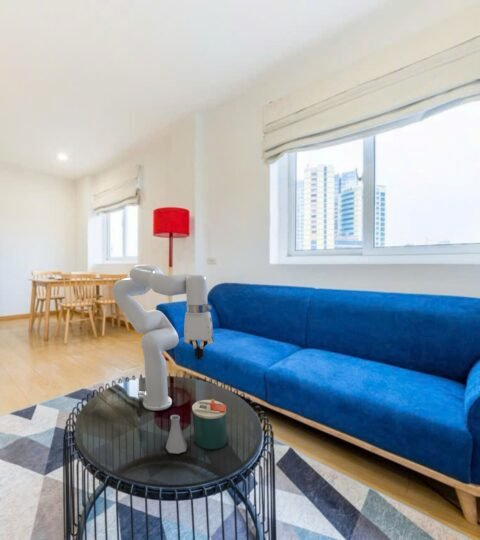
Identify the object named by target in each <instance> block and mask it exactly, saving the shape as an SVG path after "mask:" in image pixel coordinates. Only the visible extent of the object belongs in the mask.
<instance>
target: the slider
mask: <svg viewBox="0 0 480 540" xmlns="http://www.w3.org/2000/svg"><path fill="white" fill-rule="evenodd" d="M211 400H212V401H211V404H210V410H213V411H220V412H224V413H225V411H226V412H227V405H226V404H224V405H219V404H215V402H214V400H215V398H211Z"/></svg>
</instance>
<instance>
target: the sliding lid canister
mask: <svg viewBox="0 0 480 540" xmlns="http://www.w3.org/2000/svg"><path fill="white" fill-rule="evenodd" d="M211 401H212V399H202V400H198V401H196V402H194V403H193V404H192V406H191V410H192V421H193V422H192V423H193V424H192V427H193V441H194V442H195V444H196V445H197V446H199V447H201V448H203V449H205V450H217V449H221V448H223V447H224V446H226V444H227V442H228V435H227V434H228V433H227V410H226V411H225V413H224V412H220V411H213V410H210V404H211ZM214 402H215V404H219V405H225V404H224V403H222V402H220V401H218V400H215V399H214Z"/></svg>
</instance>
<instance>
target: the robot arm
mask: <svg viewBox="0 0 480 540" xmlns="http://www.w3.org/2000/svg"><path fill="white" fill-rule="evenodd" d="M207 283H208V281H207V277H206V276H205V275H204V274H188V273H187V274H186V273H185V274H172V275H167V274H166V275H165V273H164V271H163V270H162V269H161V268H160V267H159V266H158V265H157V264H153V263H151V264H137V265H134V266H133V267H132V268H131V269H130V271H129V278H123V279H120V280H117V281H116V282H115V283H113V285H112V296H113V300H114V301H115V303H116V305H117V306H118V307H119V308H120V309H121V311H122V312H123V313H124V314H125V316H126V318H127V320H128V321H129V323H130V325H132V328H133V329H134V330H135V332H136V333H138V334H141V335H142V334H144V335H142V337H141V340H140V345H141V349H142V355H143V361H144V381H145V391H140V390H139V391H138V392H137V398H138V399H143V400H142V406H143V407H144V408H145V409H147V410H149V411H156V412H158V411H165V410H167V409H169V408H170V407H171V406H172V404H173V399H172V398H171V397H170V396H169V387H168V366H167V364H168V363H167V360H166V358H165V356H164V355H163V352H165V351H168V350H172V349H174V348H175V347H177V346H178V344H179V340H180V339H179V334H178V332H177V330H176V329H175V327H174V326H173V325H172V323H171V322H170V320H169V319H168V317H167V316H166V315H165V314H164V313H163V311H160V310H158V309H151V310H145V309H144V307H143V305H142V303H140V302H139V301H138V300H137V299H135V298H133V297H135V296H137V297H138V296H143V295H145V294H147V293H148V292H149V291H150V290H152V291H153V292H154V293H156V294H159V295H163V296H168V297H171V296H172V297H173V296H178V295H186V312H185V313H184V314H185V315H184V323H183V337H184V340H183V341H184V343H187V344H190V345H191V346H192V347H193V349H194V357H195V358H196V359H195V360H197V361H198V360H200V361H201V360H202V359H203V358H204V357H205V350H204V348H205V347H206V346H208V345H211V344H214V342H215V341H214V328H213V319H212V313H211V312H210V310H212V309H213V307H212V305H209V303H208V284H207ZM198 341H199V342H198Z"/></svg>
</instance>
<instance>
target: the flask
mask: <svg viewBox="0 0 480 540" xmlns="http://www.w3.org/2000/svg"><path fill="white" fill-rule="evenodd" d="M180 419H181V416H180V415H179V414H172V415H170V417H169V420H170V421H171V422H170V431H169V434H168V437H167V441H166V444H165V449H166V451H167V452H168V453H169V454H176V455H177V454H181V453H184V452H187V449H188V443H187V441H186V438H185V436H184V434H183V431H182V427H181V424H180Z"/></svg>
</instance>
